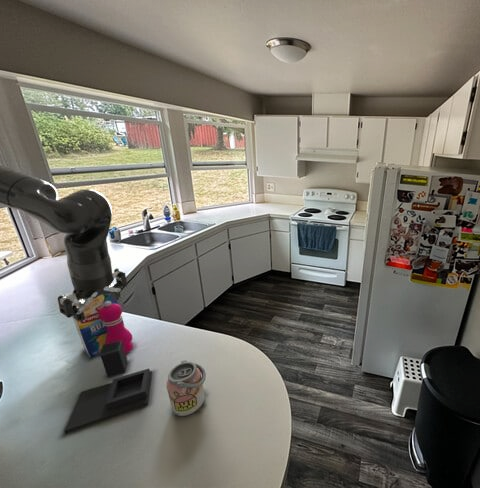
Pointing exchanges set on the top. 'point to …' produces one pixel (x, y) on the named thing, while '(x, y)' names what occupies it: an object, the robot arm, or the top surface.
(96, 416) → the base pad
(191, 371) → the beverage can
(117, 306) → the pepper mill
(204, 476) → the top surface
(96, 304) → the beverage box
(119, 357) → the black tall rectangular block
